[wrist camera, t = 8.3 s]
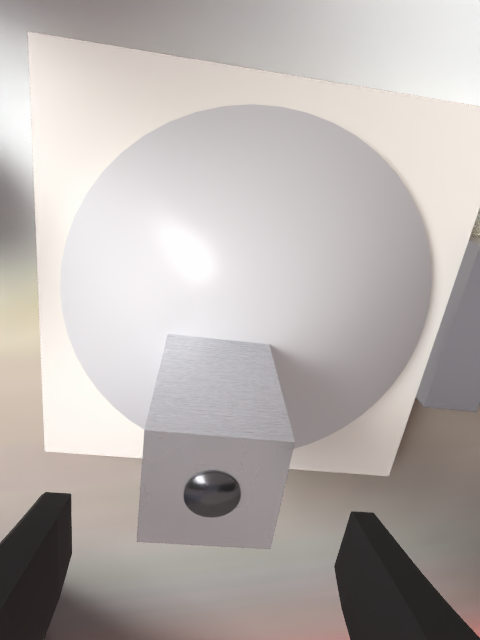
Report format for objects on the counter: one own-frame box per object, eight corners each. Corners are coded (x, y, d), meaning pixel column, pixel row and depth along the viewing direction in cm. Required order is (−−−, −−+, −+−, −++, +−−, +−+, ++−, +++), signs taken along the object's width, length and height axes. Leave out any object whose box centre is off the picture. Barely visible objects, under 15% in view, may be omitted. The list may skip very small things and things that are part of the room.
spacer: (254, 427, 19) (270, 551, 13) (160, 419, 18) (136, 543, 13) (269, 344, 17) (295, 443, 12) (167, 333, 17) (143, 431, 11)
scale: (428, 458, 23) (451, 492, 21) (56, 429, 21) (38, 463, 19) (554, 125, 17) (605, 123, 14) (46, 42, 15) (16, 25, 13)
